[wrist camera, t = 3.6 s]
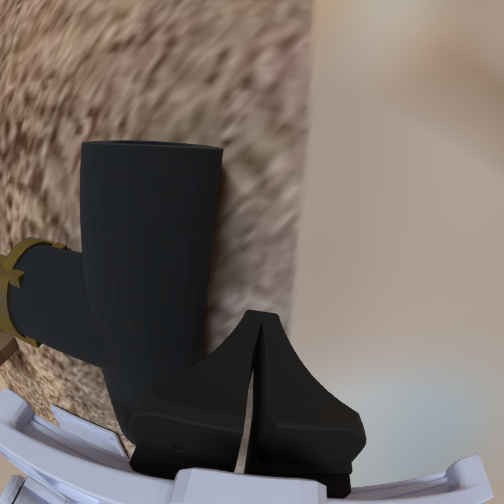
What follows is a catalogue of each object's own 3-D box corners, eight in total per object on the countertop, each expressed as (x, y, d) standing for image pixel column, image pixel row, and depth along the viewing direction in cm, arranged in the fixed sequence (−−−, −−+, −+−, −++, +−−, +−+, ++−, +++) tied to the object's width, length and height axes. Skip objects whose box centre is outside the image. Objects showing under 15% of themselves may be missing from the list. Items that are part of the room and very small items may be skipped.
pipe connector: (25, 398, 12) (-38, 153, 7) (61, 353, 17) (34, 141, 11) (189, 464, 12) (204, 151, 6) (206, 397, 17) (233, 148, 11)
